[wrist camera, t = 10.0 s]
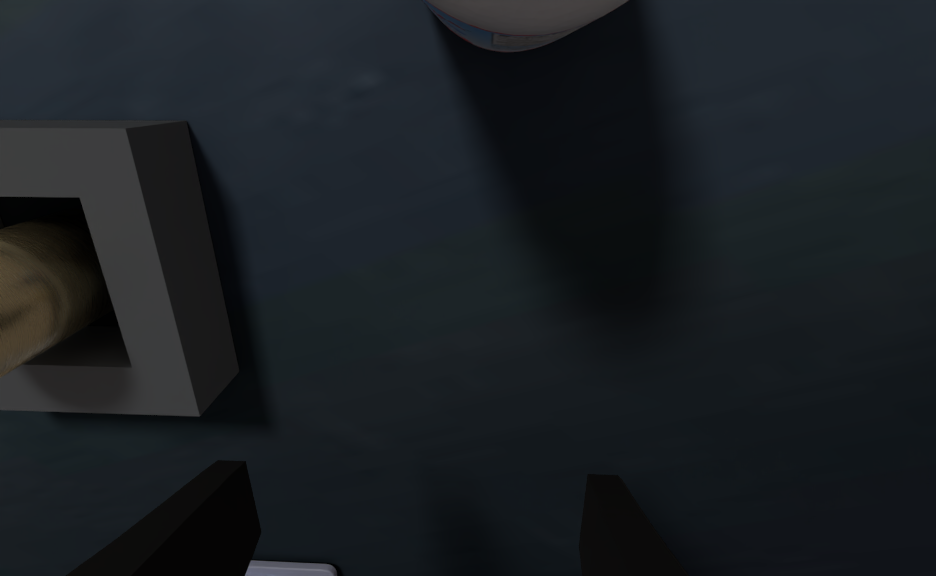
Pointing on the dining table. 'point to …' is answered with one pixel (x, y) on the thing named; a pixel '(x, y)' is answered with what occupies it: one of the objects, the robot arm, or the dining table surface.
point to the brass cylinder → (47, 285)
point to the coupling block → (126, 269)
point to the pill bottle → (517, 20)
